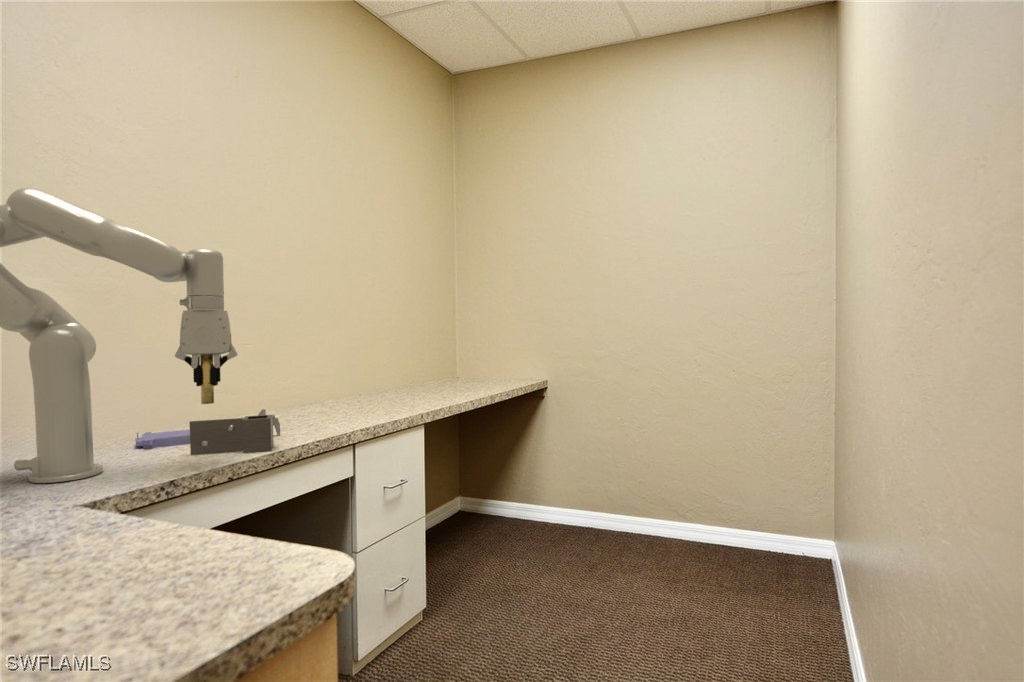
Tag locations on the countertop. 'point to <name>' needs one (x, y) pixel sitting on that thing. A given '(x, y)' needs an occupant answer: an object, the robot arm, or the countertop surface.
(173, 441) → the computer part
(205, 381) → the pin
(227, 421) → the hinge
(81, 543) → the countertop surface
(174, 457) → the countertop surface
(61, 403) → the robot arm
